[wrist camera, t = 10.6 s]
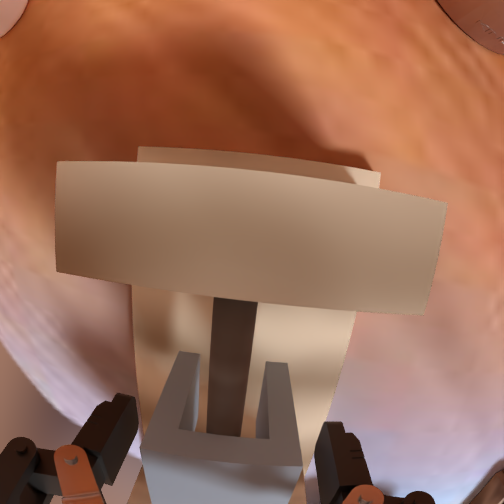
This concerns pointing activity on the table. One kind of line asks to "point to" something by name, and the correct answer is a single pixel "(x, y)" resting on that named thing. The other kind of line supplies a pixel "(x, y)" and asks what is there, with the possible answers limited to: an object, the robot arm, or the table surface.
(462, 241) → the table surface
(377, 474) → the table surface
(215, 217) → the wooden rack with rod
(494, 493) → the open wooden frame
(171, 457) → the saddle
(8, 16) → the drinking glass
